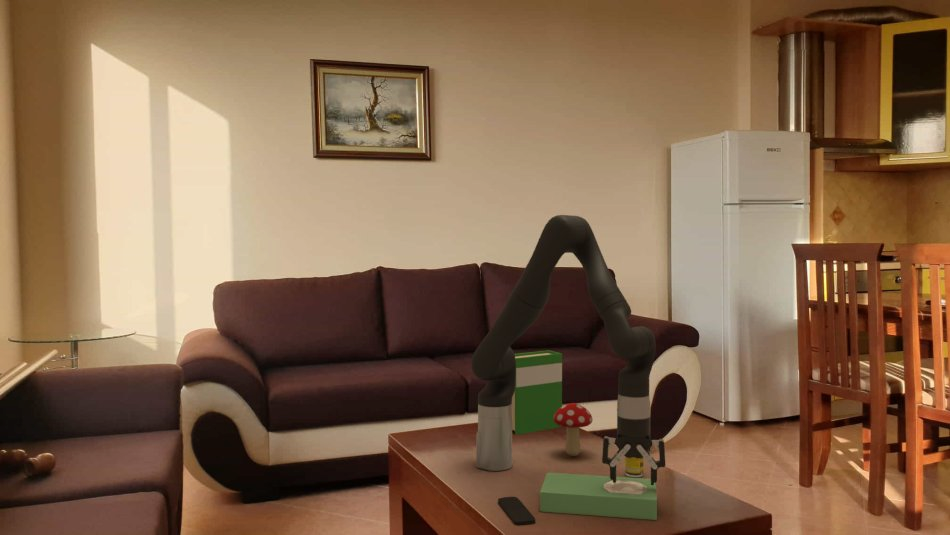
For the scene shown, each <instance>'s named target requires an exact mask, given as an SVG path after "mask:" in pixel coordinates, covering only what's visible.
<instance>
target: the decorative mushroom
mask: <svg viewBox="0 0 950 535" xmlns="http://www.w3.org/2000/svg"><path fill="white" fill-rule="evenodd" d="M554 422H555V423H556V424H558V425H560V426H562V427H564V428H566V431H565V432H566V440H565V445H564V447H565V452H566V454H567V455H569V456H570V457H576V456H578V455H579V454H580V453H581V448H582V446H581V441H580V428H584V427H589V426H590V425H591V424H592V422H593V416H592V414H591V413H590V411H589V410H588V409H587V408H586V407H584V406H582V405H581V404H578V403H576V402H575V403H572V402H571V403H567V404H564V405H562V407H561V408H559V409H558V410H557V411H556V413H555V415H554Z"/></svg>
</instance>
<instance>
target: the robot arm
mask: <svg viewBox="0 0 950 535" xmlns="http://www.w3.org/2000/svg"><path fill="white" fill-rule="evenodd" d="M565 253H567V254H569V253H571V254H573V255H574V257H575V258H577V260H578V261H579V263H580V264H581V266H582V269H583V270H584V272H585V276H586V277H585V278H586V285H587V291H588V295H589V298H590V300H591V303H592V304H593V306H594V307H595V309H596V311H597V313H598V314H599V317H600V318H601V320H602V321H603V324H604V329H605V331H606V336H607V338H608V341H609V345H610V347H611V349H612V351H613V352H614V354H616V355H617V356H618V358H621V359H623V360H627V363H626V365H625V366H624V367H623V368H622V369H621V370H619V372H618V380H617V382H618V384H617V387H618V389H617V390H618V392H617V394H618V395H617V400H616V402H617V403H616V404H617V405H616V436H615V437H610V436H608V435H604V437H603V442H602V455H601V456H602V459H601V462H602V464H604V465H608V466H609V476H610V479H611V480H613V482H614V483H616V477H617V464H618V462H620V461H621V459H622V458H623V457H624V458H625V457H627V458H632V457H634V458H642V457H643V459H644V460H645V461H646V462H647V463H648V464H649V466H650V479H651V485H654V483H656V484H657V481H658V469H660V468H665V467H666V453H665V452H666V451H665V440H664V439H663V438H659V439H652V437H651V412H652V410H651V400H650V399H651V398H650V375H651V373H652V369H653V364H654V360H655V356H656V352H657V351H656V348H657V345H656V343H657V342H656V339H655V335H654V333H653V331H652V330H651V329H650V328H648V327H646V326H641V325H640V326H639V325H638V326H634V327H631V326H630V323H629V321H628V319H629V318H630V316H631V314H632V309H631V306H630V305H629V303H628V300H627V299H626V298H625V296H624V295H623V293H622V291H621V290H620V288H619V286H618V285H617V284H616V281H615V280H614V277H613V276H612V274H611V271H610V269H609V268H608V265H607V263H606V261H605V259H604V256H603V254H602V251H601V249H600V246H599V244H598V241H597V238H596V236H595V234H594V231H593V229H592V226H591V225H590V224H589V222H588V221H587V220H586V219H585V218H583V217H582V216H579V215H568V214H557V215H555V216H553V217H551V218H550V219H549V220H548V221H547V222H546V224H545V225H544V227H543V229H542V231H541V233H540V236H539V238H538V241H537V244H536V246H535V248H534V250H533V252H532V254H531V257H530V258H529V260H528V261H527V262H528V263H527V264H526V266H525V268H524V269H523V272H522V274H521V275H520V278H519V279H518V280H517V282H516V284H515V286H514V287H513V289H512V291H511V293H510V294H509V296H508V298H507V299H506V302H505V304H504V306H503V308H502V309H501V311H500V312H499V314H498V316H497V318H496V319H495V321H494V323H493V325H492V327H491V328H490V330H489V331H488V333H487V334H486V335H485V337H484V338H483V340H481V342H480V344H478V347H477V348H476V349H475V351H474V353H473V354H472V358H471V372H472V373H473V375H474V376H475V377H476V379H479V380H481V381H487V382H486V385H485V386H484V387H483V388H482V390H480V391H479V392H478V396H477V405H478V406H477V432H476V433H475V434H476V435H475V438H476V440H475V441H476V442H475V444H476V450H475V454H476V456H475V457H476V463H475V465H476V468H477V469H482V470H485V471H490V472H491V471H492V472H498V471H501V472H502V471H505V470H510V469H511V468H512V466H513V430H512V397H513V394H514V391H515V377H516V360H515V355H514V354H515V353H514V351H513V349H512V347H511V346H512V344H514V342H515V341H517V339H519V337H520V336H522V335H523V334H524V333H525V332H526V331H528V330H529V328H530V327H532V326H533V324H534V323H536V321H537V320H538V318H540V315H541V314H542V313H543V311H544V309H545V307H546V305H547V303H548V302H549V299H550V295H551V279H552V278H551V277H552V274H553V272H554V269H555V268H556V266H557V264H558V263H559V261H560V260H561V259H562V257H563V255H565ZM613 444H615V445H616V447H617V449H618V450H617V451H616V452H615V454H614V455H613V456H612V457H609V448H611V447H612V446H613ZM652 446H654V447H655V449H656V450H657V451H658V452H659V453H658V454H659V457H658V458H659V460H656V459H655V458H654V457H653V454H651V452H650V449H651V448H652Z"/></svg>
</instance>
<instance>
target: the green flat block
mask: <svg viewBox="0 0 950 535" xmlns="http://www.w3.org/2000/svg"><path fill="white" fill-rule="evenodd" d="M545 474H546V475H545V477H544V481H543V482H542V486H541V489H540V492H539V512H540V513H541V512H544V513H555V514H571V515H583V516H596V517H608V518H609V517H610V518H621V519H622V518H626V519H637V520H649V521H652V520H653V521H657V520H658V496H657V495H658V494H657V493H658V492H657V482H656V483H654V485H651V478H643V477H628V476H625V477H624V476H616V483H614V482H613V480H611V479H610V475H609V476H608V475H607V476H606V475H594V474H593V475H592V474H577V473H563V472H562V473H561V472H560V473H559V472H546V473H545ZM627 487H628V488H632V489H633V490H634V491H632V492H623V491H620V490H622V489H623V488H627Z"/></svg>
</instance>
